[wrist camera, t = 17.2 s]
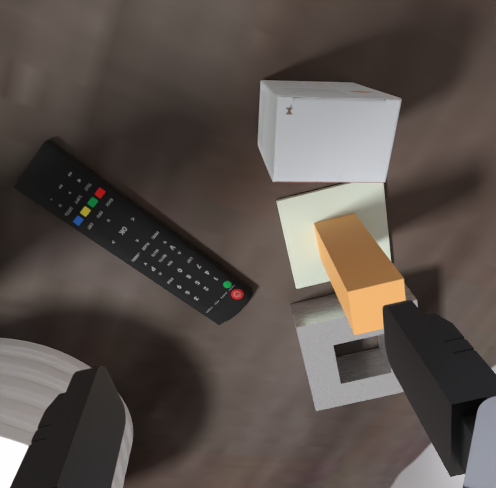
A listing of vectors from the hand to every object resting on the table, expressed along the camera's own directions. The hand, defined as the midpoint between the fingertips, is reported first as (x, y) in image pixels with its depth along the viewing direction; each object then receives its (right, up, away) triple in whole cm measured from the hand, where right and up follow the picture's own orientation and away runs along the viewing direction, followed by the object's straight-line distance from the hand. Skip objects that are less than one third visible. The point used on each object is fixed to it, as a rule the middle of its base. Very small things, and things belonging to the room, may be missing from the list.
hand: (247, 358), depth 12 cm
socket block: (+12, -7, +35) cm, 38 cm away
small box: (+5, +14, +24) cm, 29 cm away
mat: (+9, +4, +29) cm, 31 cm away
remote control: (-10, +4, +29) cm, 31 cm away
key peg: (+9, +4, +29) cm, 30 cm away
